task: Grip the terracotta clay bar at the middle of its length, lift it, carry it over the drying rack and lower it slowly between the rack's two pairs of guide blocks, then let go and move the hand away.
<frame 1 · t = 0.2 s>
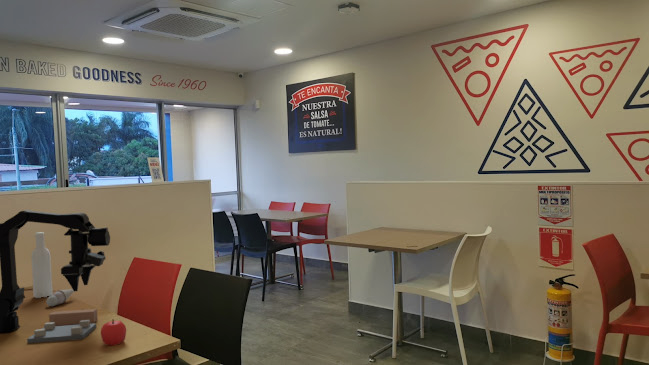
hand: (80, 288, 176), 14 cm above the table, fingers open, 9 cm apart
bottle: (43, 296, 221), on the table
apple: (114, 343, 156), on the table
clay strip: (73, 323, 179), on the table
drying rack: (63, 335, 165), on the table
ice cream cone: (62, 303, 208), on the table
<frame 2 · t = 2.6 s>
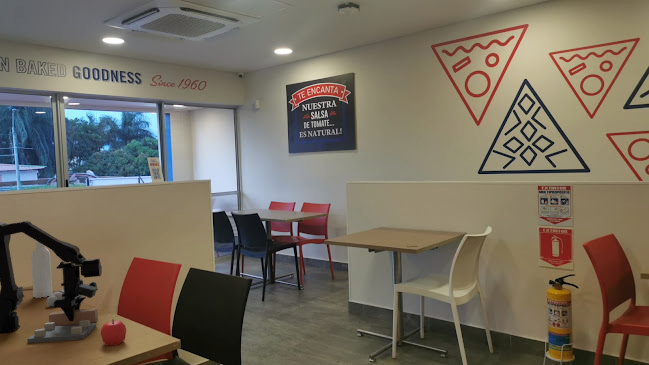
hand: (73, 319, 179), 1 cm above the table, fingers closed on clay strip, 4 cm apart
clay strip: (74, 322, 179), on the table, touching gripper
everything else where it was.
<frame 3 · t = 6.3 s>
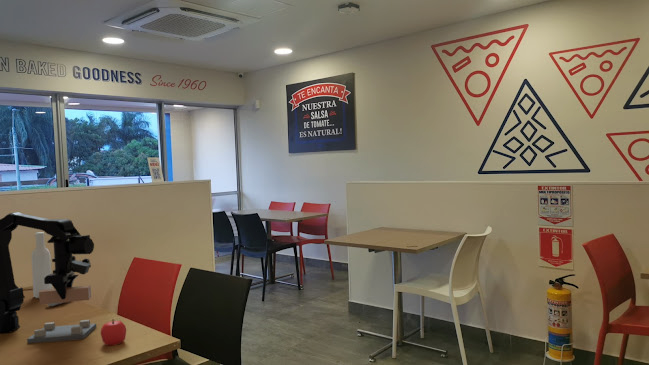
hand: (65, 297, 169), 12 cm above the table, fingers closed on clay strip, 4 cm apart
clay strip: (66, 300, 169), point 11 cm above the table, touching gripper
everything else where it was.
when the fingers open (4 cm above the table, at t = 9.8 s): clay strip stays where it is, resting on drying rack.
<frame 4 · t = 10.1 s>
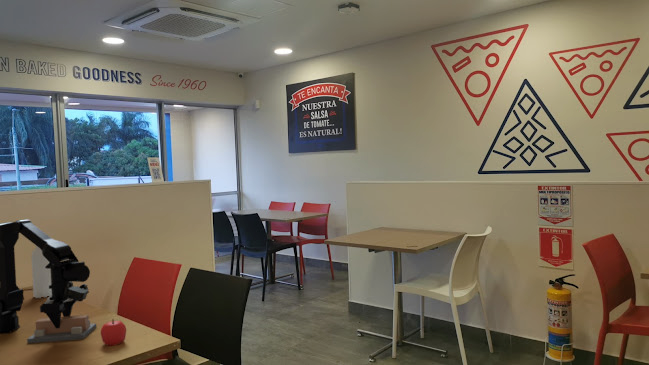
hand: (62, 324, 165), 4 cm above the table, fingers open, 7 cm apart
clay strip: (63, 330, 165), point 1 cm above the table, touching drying rack
everything else where it was.
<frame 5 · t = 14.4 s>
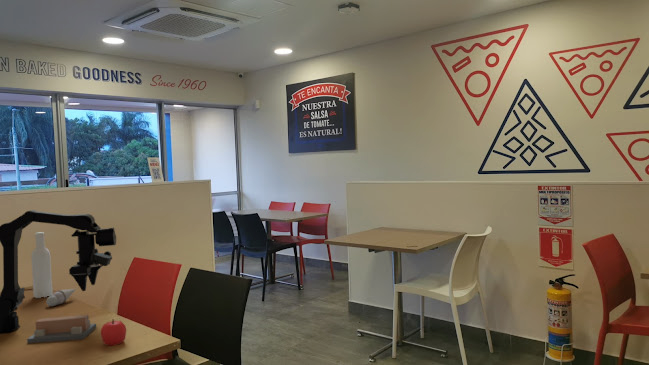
hand: (88, 287, 179), 13 cm above the table, fingers open, 9 cm apart
nothing on the table moved.
at the end: clay strip 0.0 cm from the target spot, point 1.5 cm above the table; clay strip tilted 0°; the gripper is holding nothing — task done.
